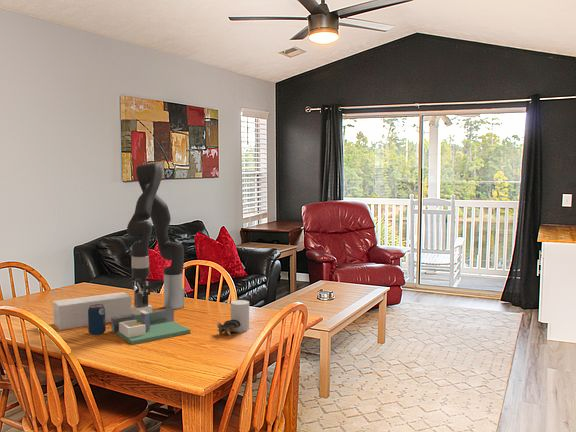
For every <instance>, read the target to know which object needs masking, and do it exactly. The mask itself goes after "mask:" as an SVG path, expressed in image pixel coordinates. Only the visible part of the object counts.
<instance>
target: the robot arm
mask: <svg viewBox="0 0 576 432" xmlns="http://www.w3.org/2000/svg"><path fill="white" fill-rule="evenodd" d="M135 175H136V178H137V181H138V184H139V186H140V189H141V192H142V194H141V195H139V197H138V198H137V200H136V205H135V210H134V213H133V215H132V216H131V219H130V220H129V222H128V223H127V227H126V232H127V234H128V236H129V237H133V238H142V240H140V241H136V242H133V243H132V245H131V290H132V291H133V293H138V292H141V293H142V304H144V305H145V304H149V296H150V295H151V282H150V280H149V281H148V280H147V278H148V277H150V257H149V245H150V239H151V235H152V233H153V229H154V232H155V237H156V240H157V244H158V246H157V247H158V249H159V250H158V251H159V254H160V256H161V258H162V259H164V260H167V261H171V263H170V265H169V266H166V267H164V268H163V304H164V305H163V309H166V308H172V309H174V310H176V309H177V310H178V309H181V308H183V307H185V288H184V287H183V285H184V284H183V270H184V265H185V249H184V248H185V247H184V245H183V244H182V243H181V242H178V241H171V240H170V237H169V234H168V230H169V226H170V224H171V221H172V220H171V219H172V218H171V213H170V210H169V207H168V204H167V203H166V201H165V200H163V199H162V198H161V197H160V196H159V195H158V194H157V192H158V190H159V187H160V185H161V182H162V177H163V170H162V167H161V165H160V164H159V163H156V162H155V163H154V162H152V163H145V164H140V165H137V166H136V168H135ZM148 220H151V221H152V222H150V221H148Z"/></svg>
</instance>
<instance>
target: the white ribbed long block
mask: <svg viewBox="0 0 576 432" xmlns="http://www.w3.org/2000/svg"><path fill="white" fill-rule="evenodd" d="M95 304H102V305H104V308H105V323H110V322H111V318H112V317H118V316H124V315H130V314H131V306H132V296H131V295H130V294H128V293H125V292H124V291H121V292H113V293H107V294H106V293H105V294H99V295H90V296H83V297H75V298H66V299H59V300H53V301H52V307H53V324H54V326H55V327H56V328H58V330H61V331H62V330H66V329H72V328H73V329H74V328H78V327H79V328H80V327H86V326H88V309H89V306H91V305H95Z"/></svg>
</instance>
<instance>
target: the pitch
mask: <svg viewBox="0 0 576 432" xmlns="http://www.w3.org/2000/svg"><path fill="white" fill-rule="evenodd" d="M186 334H191V329H190V328H188V327H187V326H184V325H182V324H180V323H179V322H175V320H174V321H172V322H166V323H161V324H155V325H150V330H148V331H146V334H145V335H140V336H135V337H129V338H128V337H126V336H125V335H123V334H122V333H120V332H119V331H117V332H116V335H117V336H119V337H120V338H121V339H123V340H124V341H125V342H127V343H129V344H130V345H132V346H133V345H137V344H142V343H146V342H147V343H148V342H152V341H156V340H157V341H158V340H163V339H168V338H173V337H176V336H177V337H178V336H182V335H186Z"/></svg>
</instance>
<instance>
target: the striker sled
mask: <svg viewBox="0 0 576 432" xmlns="http://www.w3.org/2000/svg"><path fill="white" fill-rule="evenodd" d="M133 295H134V296H133V297H134V298H133V300H134V303H133V304H134V305H131V314H133V315H135V316H136V315H141V323H142V324H143V325H144V324H145V325H146V331H148V330H150V314H149V313H152V311H153V305H151V304H149V303H148V304H145V305H144V304H142V293H141V292H140V291H139V292H138V293H135V292H133Z"/></svg>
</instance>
